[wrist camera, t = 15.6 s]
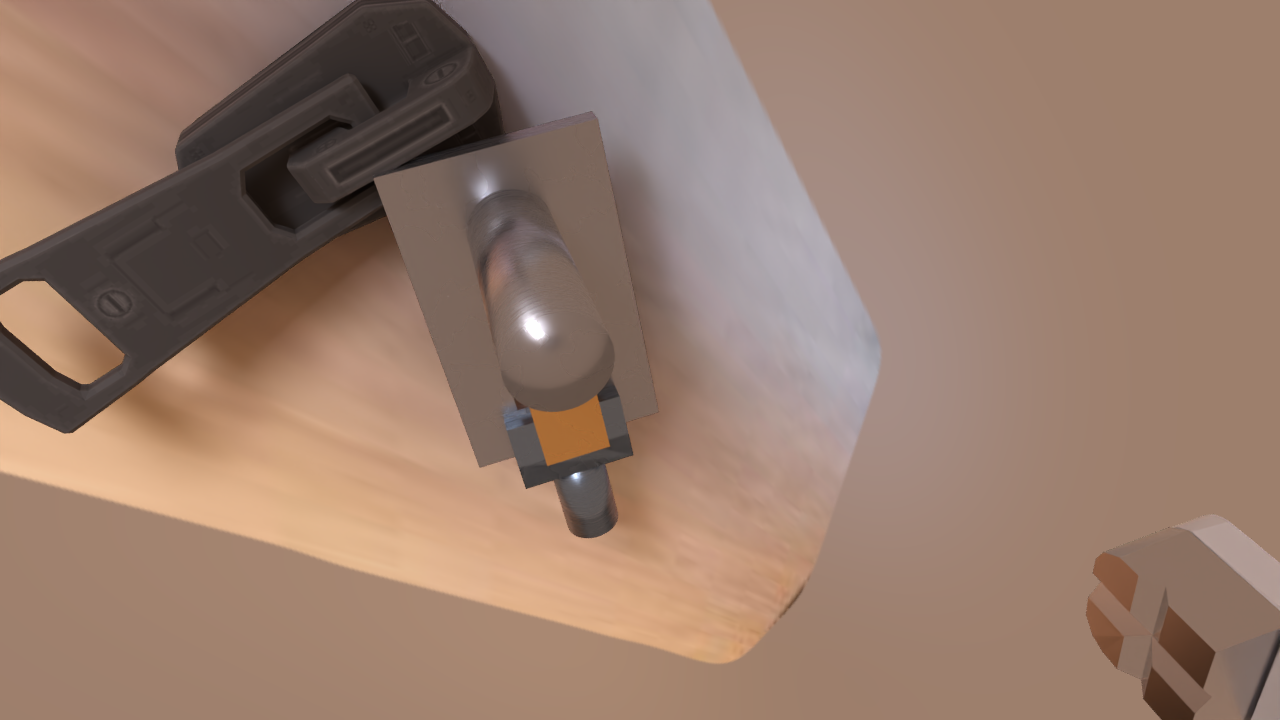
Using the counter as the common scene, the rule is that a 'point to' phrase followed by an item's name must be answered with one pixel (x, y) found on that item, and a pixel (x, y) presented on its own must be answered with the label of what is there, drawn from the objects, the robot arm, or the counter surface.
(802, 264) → the counter surface
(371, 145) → the zipper pull
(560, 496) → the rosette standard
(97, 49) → the counter surface
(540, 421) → the orange wooden block
